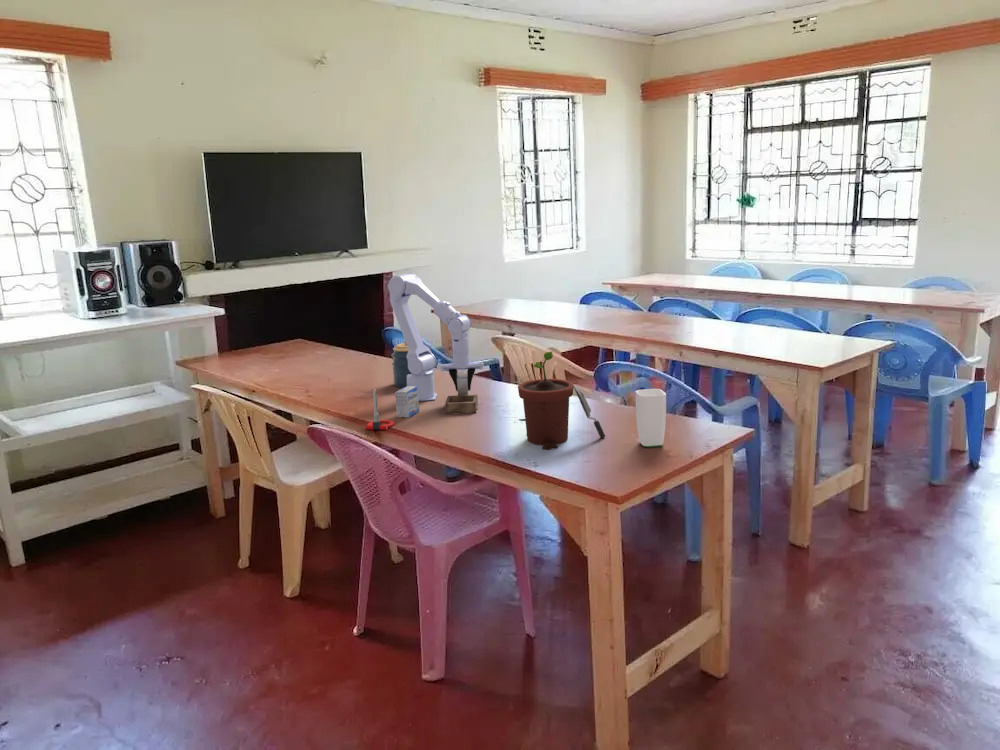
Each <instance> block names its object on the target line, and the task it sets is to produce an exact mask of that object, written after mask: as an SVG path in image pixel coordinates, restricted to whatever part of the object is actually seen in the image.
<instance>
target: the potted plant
mask: <svg viewBox="0 0 1000 750" xmlns="http://www.w3.org/2000/svg"><path fill="white" fill-rule="evenodd" d="M553 356H554V355H553V351H546V352H544V354H543V357H544V361H543V364H542V365H541V362H540V361H536V362H535V364H534V365H533V366H532V367H533V368H537V369H543V378H541V379H540V378H538V379H531V380H527V381H524V382H521V383H519V384H518V386H517V391H518V396H519V398H520V399H522V403H523V410H524V421H525V431H526V438H527V441H528V442H529V443H530V444H533V445H536V446H537V445H538V446H541V449H542V450H546V451H549V450H554V449H559V445H560V444H564V443H565V442H567V441H568V438H569V417H570V416H569V413H570V412H569V411H570V398H571V397H572V396H573V394H574V390H575V393H576V395H577V398H578V399H579V403H580V405H581V407H582V409H583V412H584V413H585V416H586V418H587V419H589V420H594V422H593V424H594V427H595V429H596V431H597V433H598V435H599V438H600V439H603V438H605V437H606V435H605V432H604V430H603V428H602V426H601V424H600V421H599V420H597V419H596V418H595V417H592V416H591V413H592V409H591V407H590V405H589V403H588V400H587V398H586V395H585V393H584V392H583V391H582V390H581V389H580V388H579V387H578V386H577V385H575V384H574V383H573V382H572V381H570V380H566V379H561V378H559V379H557V378H547V375H546V369H545V364H546V362H547V361H549V360H551V359H552V358H553Z"/></svg>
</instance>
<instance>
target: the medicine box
mask: <svg viewBox="0 0 1000 750" xmlns="http://www.w3.org/2000/svg"><path fill="white" fill-rule="evenodd" d="M394 398H395V409H396V417H397V418H402V417H404V419H405V418H407V419H409V417H410V418H411V417H413V416H414V415H415V413H416V414H418V413H419V412H420V405H419V404H420V403H419V401H418V389H417V387H415V386H406V387H404V388H402V387H401V389H398V390H397V391H395V392H394ZM412 415H413V416H412Z"/></svg>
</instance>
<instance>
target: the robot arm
mask: <svg viewBox="0 0 1000 750" xmlns="http://www.w3.org/2000/svg"><path fill="white" fill-rule="evenodd" d="M387 288H388V291H389V300H390V306H391V308H392V310H393V313H394V316H395V318H396V320H397V324H398V325H399V329H400V331H401V333H402V335H403V339H404V340H405V341H406V344H407V346H408V349H409V351H408V354H407V356H406V357H407V360H408V369H409V371H410V372H411V373H412V374H408V375H407V386H415V387H417V389H418V401H435V400H436V398H437V395H438V393H437V392H435V391H436V390H435V380H434V379H435V378H434V377H435V376H434V371H435V370H434V369H435V368H436V366H437V358H436V356H435V355H434V354H433V353H432V351H431V349H430V347H428V346H427V345H425V344H424V343H423V340H422V337H421V334H420V331H419V330H418V326H417V324H416V322H415V319H414V317H413V313H412V311H411V308H410V306H409V304H408V302H409V300H410V297H411V296H412V295H415V296H417V297H418V298H419V299H420V300H422V301H423V302H425V303H426V304H427V305H429V306H430V307H431V308H432V309H433V314H434V315H435V316H436V317H437V318H439V320H441V321H442V322H443V323H444V324H445V325H446V326H447V329H448V332H449V333H450V338H451V344H452V347H451V348H452V360H453V361H452V362H451V363H443V364H442V363H441V364H440V368H439V369H440V371H441V372H443V371H448V374H449V376H450V378H451V379H452V381H453V384H454V387H455V392H458V389H457V376H458V371H459V370H461V371H462V370H463V371H464V370H467V372H466V374H468V391H469V392H470V391H471V387H472V380H473V377H474V374H475V371H476V370H484V362H477V361H476V362H475V361H474V362H473V361H471V355H470V354H471V353H470V340H469V339H470V337H469V335H470V334H469V330H470V329H471V327H472V321H471V319H470V317H468V315H467V314H463V313H462V314H461V312H460V311H457V310H456V309H455V308H454V307H453V306H452V305H451V302H449V301H445V300H440V299H439V298H438V297H437V296H436V295H435V294H433V292H432V291H431V290H430V289H429V288H428V287H427V286H426V285H425V284H424V283H423V282H422V279H421V278H420V277H418V276H417V275H416V274H415V273H414V272H408V273H405V274H399V275H393V276H392V277H391V278H390V280H389V282H388V284H387ZM419 355H420V356H419Z"/></svg>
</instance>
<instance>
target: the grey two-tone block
mask: <svg viewBox="0 0 1000 750" xmlns="http://www.w3.org/2000/svg"><path fill="white" fill-rule="evenodd" d="M457 389H458V391H457V395H470V391H468V374H467V373H460V374H458V373H457Z"/></svg>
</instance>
